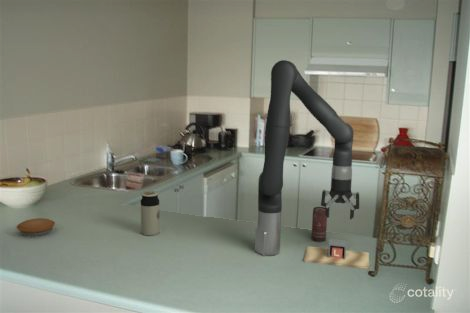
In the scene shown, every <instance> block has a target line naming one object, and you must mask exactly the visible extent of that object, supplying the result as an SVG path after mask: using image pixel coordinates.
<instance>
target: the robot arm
mask: <svg viewBox="0 0 470 313" xmlns="http://www.w3.org/2000/svg"><path fill="white" fill-rule="evenodd" d="M292 93H293V94H294V95H295V97H297V99H298V100H299V101H300V102H301V103H302V104H303V105H304V107H305V108H306V109H307V110H308V112H309V113H310V114H311V115H312V116H313V117H314V118H315V119H316V120H317V122H319V123H320V124H321V126H323V127H324V128H325V130H326V131H327V132H328V133H329V135H330V136H331V137H332V138H333V139H334V150H333V153H332V154H333V155H332V166H331V167H332V168H331V176H330V177H331V178H330V179H331V181H330V189H329V190H326V189H322V191H321V192H322V193H321V201H320V207H324V208H326V210H325V215H326V216H327V219H328V218H330V207H331V206H332V205H333V204H334V203H336V204H339V203H340V204H346V205H347V206H348V207H349V220H353V219H354V218H355V217H354V216H355V210H359V209H360V192H359V191H356V192H352V181H353V180H352V179H353V167H352V165H353V142H354V129H353V127H352V125H351V124H349V123H347V122H345V121H344V120H343V119H342V118H341V117H340V116H339V114H338V113H337V111H336V110H335V109H334V108H333V107H332V106H331V105H330V104H329V103H328V102H327V101H326V99H324V98H323V97H322V96H321V95H320V94H318V92H317V91H315V89H314V88H312V87H311V85H310V84H309V83H308V82H307V81H306V80H305V78H304V77H303V76H302V73H300V71H299V70H298V68H297V66H296V65H295V63H293V62H291V61H290V60H286V59H284V60H282V59H281V60H279V61H277V62H276V63H274V64H273V66H272V68H271V72H270V97H269V104H268V108H267V115H266V121H265V128H264V144H263V146H264V147H263V148H264V162H263V168H262V172H261V173H260V174H259V176H258V182H257V183H258V184H257V185H258V186H257V188H258V190H257V191H258V192H257V193H258V194H257V204H258V205H257V227H256V228H255V230H254V231H255V234H254V236H255V238H254V240H255V241H254V245H255V246H254V251H255V252H257V253H258V254H259V255H261V256H264V257H266V256H268V257H269V256H276V255H279V254H280V253H281V235H282V234H281V233H282V232H281V231H282V230H281V229H282V207H283V206H282V202H283V201H282V200H283V199H282V192H283V191H282V189H283V187H284V161H285V156H286V152H287V149H288V148H287V147H288V142H289V137H290V128H291V95H292ZM328 196H330V197H331V198H330V199H329V200H328V201H327V202H325V201H326V197H328ZM352 197H353V198H354V200H355V205H354V204H353V202H352V201H351V198H352Z"/></svg>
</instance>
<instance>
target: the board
mask: <svg viewBox="0 0 470 313" xmlns="http://www.w3.org/2000/svg"><path fill="white" fill-rule="evenodd" d="M328 253H329V247H319V246H311V245H310V246H309V245H308V246H307V249H306V250H305V254H304V258H303V262H305V263H311V264H313V263H314V264H321V265H329V266H338V267H339V266H340V267H348V268H355V269H356V268H358V269H366V270H369V269H370V253H369V252H367V251H366V252H365V251H355V250H347V249H346V257H345V260H344V254H342V259H341V258H332V253H330V258H328Z"/></svg>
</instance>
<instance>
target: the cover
mask: <svg viewBox="0 0 470 313" xmlns="http://www.w3.org/2000/svg"><path fill="white" fill-rule="evenodd" d="M332 246H339V247H343V254H344V260H345V257H346V250H347V240H344V239H343V240H342V239H336V238H335V239H333V238H329V243H328V248H329V253H328V258H330V253H332Z"/></svg>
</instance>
